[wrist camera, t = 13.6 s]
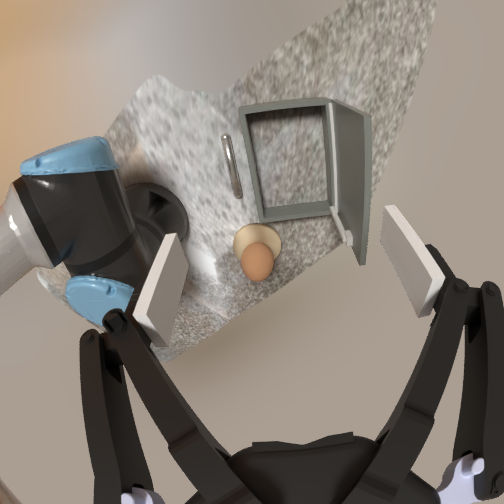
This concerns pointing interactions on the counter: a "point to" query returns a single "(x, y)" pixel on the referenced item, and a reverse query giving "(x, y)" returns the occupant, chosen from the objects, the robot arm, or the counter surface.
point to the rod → (231, 165)
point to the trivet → (257, 238)
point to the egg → (257, 261)
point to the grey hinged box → (329, 170)
